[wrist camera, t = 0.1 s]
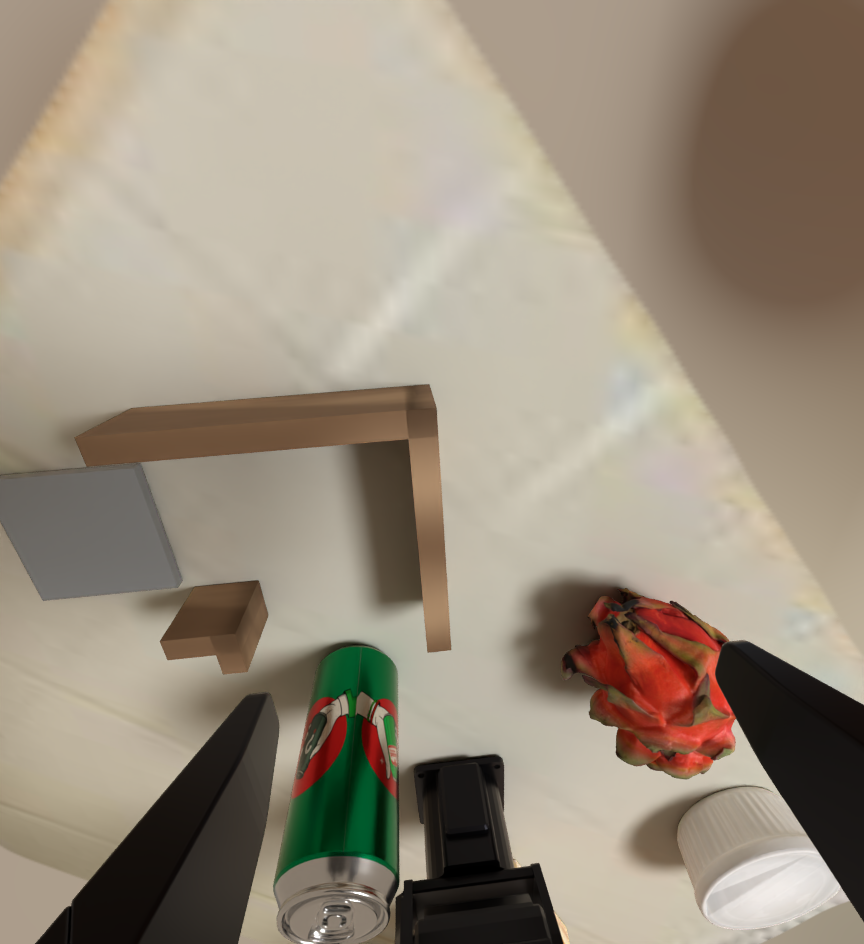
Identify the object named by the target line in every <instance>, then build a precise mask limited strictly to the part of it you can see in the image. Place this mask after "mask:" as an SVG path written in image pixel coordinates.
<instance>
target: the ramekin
mask: <svg viewBox="0 0 864 944" xmlns="http://www.w3.org/2000/svg"><path fill="white" fill-rule="evenodd" d="M677 842H678V846H679V849H680V852H681V855H682V857H683V860H684V863H685V866H686V869H687V871H688V874H689V877H690V880H691V882H692V885H693V888H694V890H695V899H696V902H697V905H698V907H699V909H700V911H701V913H702V914H703V916H704V917H705V918H706V919H707V920H708V921H709V922H711V923H712V924H714V925H716V926H719V927H722V928H727V929H735V930H749V929H759V928H765V927H770V926H774V925H778V924H781V923H785V922H788V921H790V920H792V919H795V918H798V917H800V916H802V915H804V914H806V913H808V912H810V911H812V910H814V909H816V908H817V907H819V906H820V905H822V904H823V903H825V902H826V901H828V900H829V899H831V898H832V897H833V896H835V895H836V894H837V892H838V891H839V889H840V888H841V886H840V885H839V883H838V882H837V880H836V879H835V877H834V875H833V874H832V872H831V871H830V869H829V868H828V866H827V865H826V863H825V862H824V860H823V859H822V857H821V856H820V854H819V852H818V851H817V849H816V848H815V846H814V845H813V843H812V842H811V840H810V839H809V837H808V836H807V834H806V833H805V831H804V829H803V828H802V826H801V825H800V823H799V822H798V820H797V819H796V817H795V816H794V814H793V813H792V811H791V810H790V808H789V806H788V805H787V803H786V802H785V800H784V799H783V798H781V797H780V796H778V795H777V794H774V793H772V792H770V791H768V790H766V789H763V788H759V787H736V788H731V789H726V790H723V791H720V792H717V793H714V794H712V795H710V796H708V797H706V798H704V799H702V800H700V801H699V802H697V803H696V804H695V805H693V806H692V807H691V808H690V809H689V810H688V811H687V812H686V813H685V814H684V815H683V817H682V818H681V820H680V822H679V825H678V832H677Z"/></svg>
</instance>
